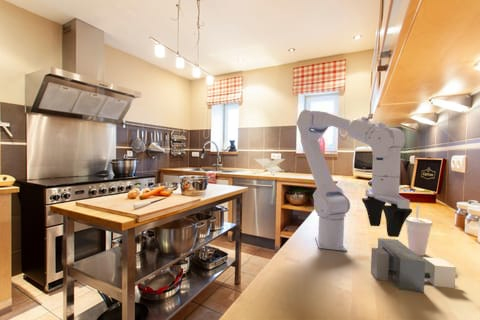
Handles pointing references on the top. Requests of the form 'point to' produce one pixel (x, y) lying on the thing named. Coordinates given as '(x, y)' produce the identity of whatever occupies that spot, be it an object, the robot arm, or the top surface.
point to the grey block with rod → (435, 269)
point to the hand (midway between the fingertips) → (383, 230)
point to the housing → (404, 265)
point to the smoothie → (418, 233)
